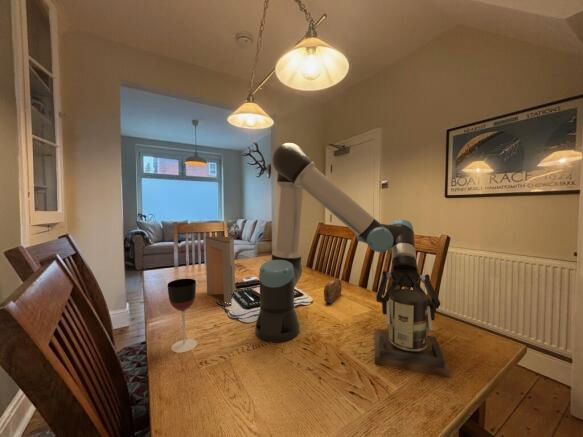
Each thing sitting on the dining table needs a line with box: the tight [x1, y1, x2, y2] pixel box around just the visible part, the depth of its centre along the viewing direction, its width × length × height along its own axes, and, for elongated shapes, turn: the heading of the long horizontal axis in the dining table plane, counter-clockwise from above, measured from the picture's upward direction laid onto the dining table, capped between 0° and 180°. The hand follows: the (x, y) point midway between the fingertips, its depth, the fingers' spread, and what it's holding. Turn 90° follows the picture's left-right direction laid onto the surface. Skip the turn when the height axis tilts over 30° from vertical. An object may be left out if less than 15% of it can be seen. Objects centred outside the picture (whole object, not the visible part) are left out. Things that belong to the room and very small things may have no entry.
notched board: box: [374, 328, 451, 378], centre depth 75 cm, size 18×16×4 cm
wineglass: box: [167, 278, 198, 354], centre depth 79 cm, size 8×9×20 cm
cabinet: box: [204, 236, 236, 308], centre depth 119 cm, size 21×10×28 cm, turn 42°
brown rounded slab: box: [323, 279, 342, 305], centre depth 115 cm, size 15×3×8 cm, turn 148°
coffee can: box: [388, 288, 429, 352], centre depth 74 cm, size 10×10×14 cm
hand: (408, 328), depth 72 cm, fingers closed on coffee can, 10 cm apart
